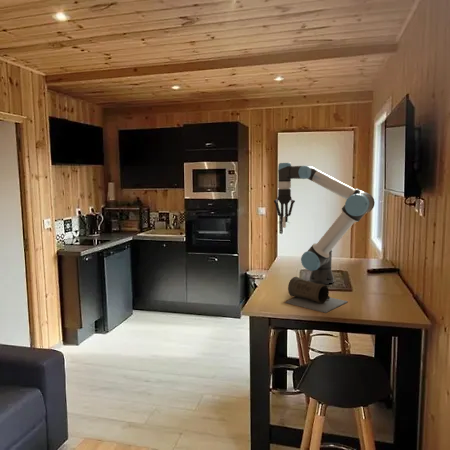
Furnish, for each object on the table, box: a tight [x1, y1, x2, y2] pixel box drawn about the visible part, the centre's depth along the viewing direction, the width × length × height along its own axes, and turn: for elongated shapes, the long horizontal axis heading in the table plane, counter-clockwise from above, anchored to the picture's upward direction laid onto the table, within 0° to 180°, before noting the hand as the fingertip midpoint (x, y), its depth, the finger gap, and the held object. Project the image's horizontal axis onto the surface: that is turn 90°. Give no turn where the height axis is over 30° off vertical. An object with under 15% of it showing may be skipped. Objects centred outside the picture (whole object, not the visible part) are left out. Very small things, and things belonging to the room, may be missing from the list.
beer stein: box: [287, 276, 330, 303], centre depth 224 cm, size 15×11×20 cm
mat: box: [285, 296, 348, 314], centre depth 220 cm, size 24×22×1 cm
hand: (284, 227), depth 256 cm, fingers closed
